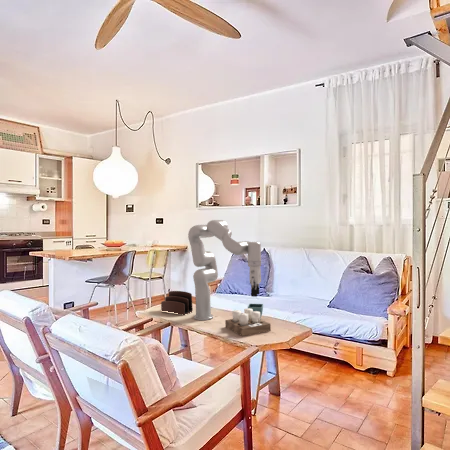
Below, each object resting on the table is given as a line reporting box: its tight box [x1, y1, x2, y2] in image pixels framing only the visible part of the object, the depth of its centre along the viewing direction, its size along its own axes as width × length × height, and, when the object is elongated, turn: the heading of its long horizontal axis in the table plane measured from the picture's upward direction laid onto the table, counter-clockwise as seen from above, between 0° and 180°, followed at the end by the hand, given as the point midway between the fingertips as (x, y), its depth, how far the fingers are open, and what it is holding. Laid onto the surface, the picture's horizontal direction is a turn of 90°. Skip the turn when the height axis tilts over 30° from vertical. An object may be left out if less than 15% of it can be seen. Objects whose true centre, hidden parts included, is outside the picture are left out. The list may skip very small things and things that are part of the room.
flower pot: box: [247, 303, 264, 320], centre depth 217 cm, size 9×9×9 cm
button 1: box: [232, 310, 242, 323], centre depth 202 cm, size 5×5×6 cm
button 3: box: [243, 307, 253, 321], centre depth 205 cm, size 5×5×6 cm
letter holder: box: [160, 290, 194, 316], centre depth 240 cm, size 10×20×14 cm, turn 62°
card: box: [248, 323, 262, 327], centre depth 192 cm, size 4×7×1 cm, turn 117°
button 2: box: [239, 312, 249, 327], centre depth 195 cm, size 5×5×6 cm
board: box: [224, 318, 272, 337], centre depth 199 cm, size 20×18×4 cm
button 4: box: [251, 311, 261, 324], centre depth 198 cm, size 5×5×6 cm
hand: (255, 294), depth 198 cm, fingers open, 5 cm apart
